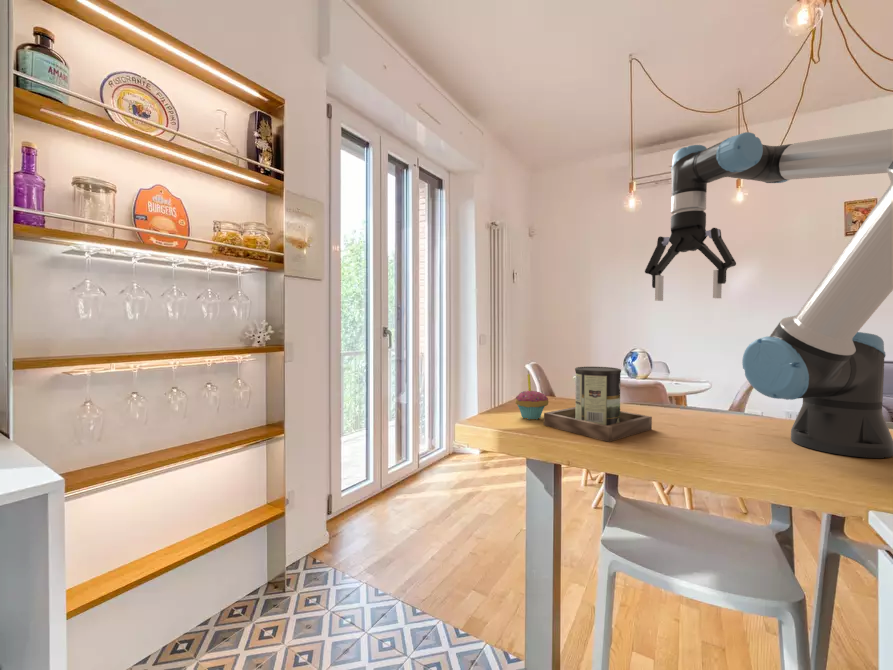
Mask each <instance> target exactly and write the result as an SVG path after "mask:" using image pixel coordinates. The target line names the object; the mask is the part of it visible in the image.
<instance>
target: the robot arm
mask: <svg viewBox="0 0 893 670" xmlns="http://www.w3.org/2000/svg"><path fill="white" fill-rule="evenodd" d="M670 172H671V196H670V197H671V199H670V200H671V201H670V203H671V204H670V213H671V214H672V215H671V217H670V235H669V236H658V238H657V241H656V247H655V248H654V249H653V253H652V255H651V257H650V259H649V262H648V263H647V265H646V267H645V269H644V273H645V274H647V275H651V277H652V278H651V283H652V284H651V287H652V289H654V301H659V302H663V301H664V275H662V273H663V272H664V271H665V269H666V268H667V267H668V266H669V264H670V263H671V262H672V261H673V260H674V258H675V257H676V256H677V255H679V254H680V253H687V252H689V251H691V252H696V251H699V252H700V253H701V254H702V255H704V256H705V258H706V259H708V261H709V262H710V263H712V265H714V267H716V269H713V273H712V274H713V275H712V276H713V277H712V278H713V280H712V283H713V284H712V299H722V290H723V289H722V287H723V284H726V282H727V271H728V269H729V268H732V267H735V266H737V262H736V260H735V258H734V257H733V255H732V254H731V252H730V250H729V248H728V246H727V244H726V242H725V241H724V240H723V238H722V231H721V230H722V229H719V228H717V227H712V228H711V229H709V230H706V229H707V228H706V226H707V213H706V209H707V190H708V189H707V188H708V187H707V186H708V183H712V182H714V181H717V180H721V179H723V178H732V179H740V180H749V181H750V180H751V181H756V182H763V183H766V184H781V183H782V184H783V183H785V182H788V181H790V180H803V179H817V178H830V177H831V178H834V177H848V176H861V175H862V176H863V175H875V174H887V175H888V177H889V180H890V184H889V186H888V188H886V190H885V192H884V193H883V195H882V196H881V197H880V199H878V202H877V203H876V204H875V206H874V207H873V209H872V210H871V211H870V212H869V214H868V215H867V216H866V218H865V220H864V221H863V222H862V224H860V226H859V228H858V229H857V231H856V232H855V233H854V235H853V236H852V237H851V239H850V241H849V242H848V243H847V244H846V246H845V247H844V248H843V250H842V252H840V254H839V256H838V257H837V258H836V260H835V261H834V263H832V266H831V267H830V268H829V270H827V272H826V274H825V275H824V276H823V278H822V279H821V280H820V282H819V283H818V285H817V286H816V287H815V289H814V290H813V292H812V293H811V295H810V296H809V297H808V298H807V300H806V301H805V303H804V304H803V305H802V307H801V308H800V310H799V311H798V312H797V314H796V315H792V316H788V317H784V318H782V319H781V320H780V321H779V322H778V324H777V325H776V327H775V328H774V329H773V331H772V333H771V334H770V335H769V336H768V335H767V336H763V337H759V338H758V339H755V340H753V341H752V342H751V343H749V344H748V346H747V347H746V348H745V349H744V352H743V356H742V362H741V364H742V369H743V370H744V376H745V378H746V380H747V381H748V383H749V384H750V386H751V387H753V389H754V390H755V391H757V392H758V393H759V394H761V395H763V396H766V397H768V398H772V399H777V400H780V399H781V400H787V401H788V400H790V401H792V400H793V401H794V400H797V399H798V400H799V399H802V404H801V407H800V409H799V412H798V414H797V416H796V418H795V419H794V422H793V425H792V427H791V429H790V440H791V442H792V443H794V444H797V445H799V446H801V447H804V448H807V449H808V448H809V449H811V450H815V451H820V452H824V453H829V454H834V455H840V456H841V455H843V456H849V457H855V458H869V459H885V458H884V457H888V458H892V457H893V436H892V434H891V431H890V428H889V427H888V425H887V421H886V420H885V416H884V412H883V397H884V377H885V376H884V374H885V358H886V355H887V354H886V352H885V343H884V340H883V338H882V337H881V336H879V335H878V334H873V333H868V332H861V331H860V330H861V329H862V327H863V326H864V325H865V324H866V323H867V322H868V320H869V319H871V317H872V316H873V315H874V313H875V312H876V310H877V309H878V308H879V307H880V306H881V305H882V304H883V302H884V301H885V300H886V299H887V298H888V297H889V296H890V294H891V293H892V292H893V128H889V129H888V128H887V129H881V130H875V131H869V132H867V131H866V132H860V133H855V134H854V133H853V134H850V135H849V134H848V135H841V136H835V137H834V136H833V137H827V138H822V139H814V140H807V141H800V142H795V143H787V144H783V145H767V144H763V143H762V141H761V139H760V138H759V137H758V136H756V134H755V133H753V132H749V131H747V132H742V133H739V134H736V135H733V136H732V135H731V136H730V137H727V138H726V139H723V140H722V141H720V142H718V143H716V144H714V145H712V146H709V147H708V148H707V147H706V146H705V145H703V144H692V145H688V146H686V147H685V146H683V147H680V148H679V149H678V150H676V151H675V152H674V153H673V155H672V162H671V168H670ZM707 237H708V238H709V239H711V240H712V242H713V244H714V246H715V247H716V249H717V250H718V252H719V255H720V256H721V258H722V260H723V261H722V260H721V259H720V258H719V256H717V255H716V253H714V252H713V250H711V248H709V247H708V246H707V244H706V243H704V242H705V240H706V239H707ZM669 243H670V244H671V246H670V247H668V249H667V252H666V253H665V255H664V256H663V254H664V252H665V250H666V247H667V246H668V245H669ZM662 256H663V257H662ZM891 456H892V457H891Z"/></svg>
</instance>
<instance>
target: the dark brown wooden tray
mask: <svg viewBox="0 0 893 670" xmlns="http://www.w3.org/2000/svg"><path fill="white" fill-rule="evenodd" d="M575 416H576V406H574V407H567V408H563V409H558V410H553V411H547V412H544V413H543V426H545V425H546V427H549V428H553V429H558V430H561V431H565V432H568V433H573V434H576V435H581V436H583V437H589V438H592V439H596V440H600V441H604V442H609V443H610V442H612V441H616V440H619V439H624V438H626V436H627V437H630V435H631V436H633V434H634V435H637V434H641V433H644V432H647V431H651V430H652V425H653V416H651V415H644V414H639V413H635V412H634V413H633V412H628V411H623V410H620V423H616V424H611V425H602V424H598V423H593V422H589V421H584V420H580V419H575ZM640 432H641V433H640ZM623 437H624V438H623Z"/></svg>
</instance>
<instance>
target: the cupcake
mask: <svg viewBox="0 0 893 670" xmlns="http://www.w3.org/2000/svg"><path fill="white" fill-rule="evenodd" d="M529 372H530V371H529V370H528V371H527V385H528V386H527V388H528V390H525V391H522V392H519V394H518V395H516V396H515V401H514V402H515V404H516V405H517V407H518V410H519V412H520V414H521V415H520V416H521V418H522V417H523V418H522V419H524V418H528V419H527V420H530V419H536V420H539V419H538V418H540V419H541V417H542V414H543V410H544V409H545V408H546V407H547V406H548V405H549V402H550V401H549V398H548V397H547V395H545V394H544V393H543V392H540V391H536V390H532V387H531V385H532V384H531V382H532V381H531V374H530V373H529Z"/></svg>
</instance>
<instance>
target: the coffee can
mask: <svg viewBox="0 0 893 670" xmlns="http://www.w3.org/2000/svg"><path fill="white" fill-rule="evenodd" d="M574 370H575V407H576V416H575V419H580V420H584V421H589V422H593V423H598V424H602V425H611V424H616V423H620V411H621V374H622V369H621V368H619V367H618V368H617V367H609V366H608V367H607V366H577V367H575V368H574Z"/></svg>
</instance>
